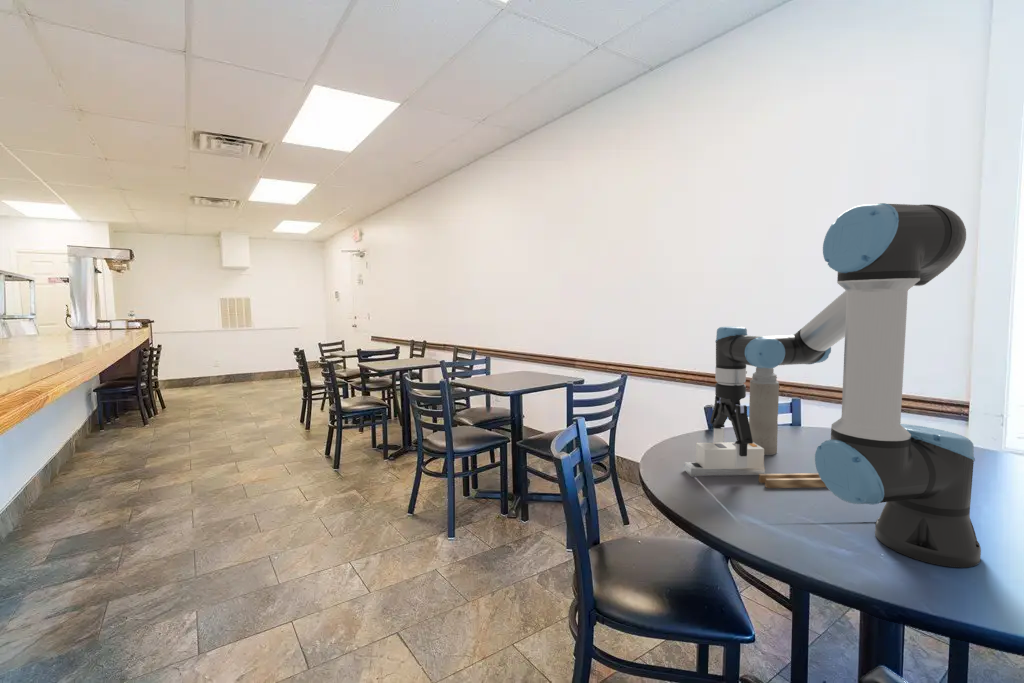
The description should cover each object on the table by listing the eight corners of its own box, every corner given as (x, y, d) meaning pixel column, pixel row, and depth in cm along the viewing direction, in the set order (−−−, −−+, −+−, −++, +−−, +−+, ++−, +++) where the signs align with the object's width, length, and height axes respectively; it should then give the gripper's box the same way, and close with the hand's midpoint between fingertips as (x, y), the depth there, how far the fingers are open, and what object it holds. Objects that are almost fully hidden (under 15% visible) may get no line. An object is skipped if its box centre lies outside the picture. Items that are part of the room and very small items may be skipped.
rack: (820, 481, 119) (820, 473, 119) (830, 488, 115) (831, 479, 115) (758, 482, 120) (758, 473, 119) (767, 489, 115) (767, 480, 115)
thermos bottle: (768, 446, 148) (770, 361, 145) (782, 454, 140) (785, 365, 137) (743, 446, 148) (745, 362, 146) (756, 455, 140) (758, 365, 138)
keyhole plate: (764, 475, 124) (765, 467, 124) (691, 476, 124) (691, 468, 124) (755, 469, 129) (756, 461, 129) (684, 470, 129) (684, 462, 129)
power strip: (752, 467, 129) (753, 441, 129) (763, 475, 123) (764, 448, 123) (695, 468, 130) (696, 442, 129) (704, 476, 124) (704, 448, 123)
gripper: (769, 391, 112) (767, 475, 114) (724, 375, 137) (723, 444, 138) (738, 392, 112) (736, 475, 114) (699, 375, 137) (698, 444, 139)
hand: (729, 458), depth 126 cm, fingers open, 13 cm apart
